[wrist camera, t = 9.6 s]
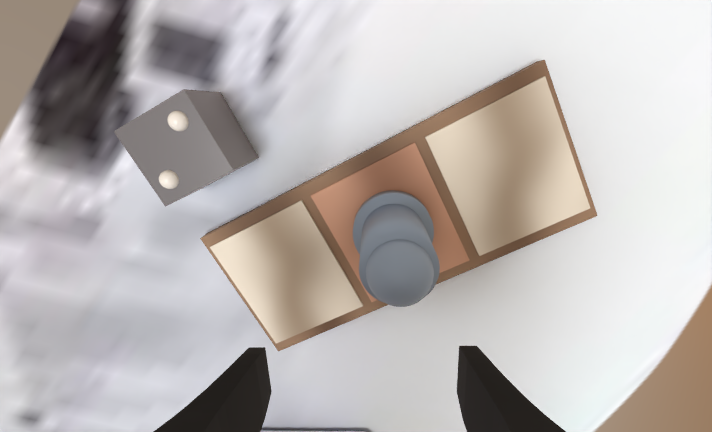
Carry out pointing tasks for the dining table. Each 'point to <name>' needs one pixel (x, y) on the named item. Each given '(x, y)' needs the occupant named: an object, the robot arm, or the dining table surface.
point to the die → (186, 143)
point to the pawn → (396, 248)
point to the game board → (429, 185)
